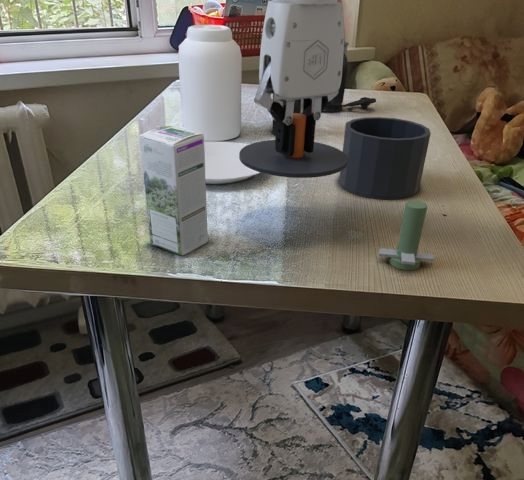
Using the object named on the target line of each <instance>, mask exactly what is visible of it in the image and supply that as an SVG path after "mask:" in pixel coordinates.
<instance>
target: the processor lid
mask: <svg viewBox="0 0 524 480" xmlns="http://www.w3.org/2000/svg"><path fill="white" fill-rule="evenodd" d="M292 124H294V125H295V127H296V129H295V143H294V154H293V156H290V157H288V156H285V155H283V154H281V153H279V152H277V151H276V149H275V139H267V140H261V141H256V142H253V143H249V144H246V145H247V146H245V147H244V148H242V149H241V150H240V153H239V159H240V161H241V163H242V164H244V165H245V166H246V167H248V168H250V169H252V170H255V171H258V172H261V173H260V174H265V175H270V176H274V177H282V178H292V179H293V178H294V179H295V178H296V179H307V178H308V179H311V178H321V177H322V178H323V177H327V176H331V175H334V174H337V173H340V171H342V170H343V169H345V168H346V166H347V164H348V157H347V155H346V154H345V153H344V152H343V150H341V149H340V148H337V147H335V146H332V145H329V144H325V143H322V142H317V141H314V148H313V152H311V153H308V152H305V151H304V140H305V127H306V115H304V114H300V113H293V120H292Z"/></svg>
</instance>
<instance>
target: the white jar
mask: <svg viewBox="0 0 524 480" xmlns="http://www.w3.org/2000/svg"><path fill="white" fill-rule="evenodd" d="M178 47H179V48H178V54H177V60H178V77H179V94H180V95H179V96H180V114H181V115H180V116H181V129H186V130H190V131H194V132H198V133H203V134H204V142H209V141H217V142H224V141H229V140H232V139H235V138H237V137H239V136H240V134H241V132H242V82H243V81H242V79H243V78H242V77H243V76H242V75H243V72H242V70H243V69H242V68H243V64H242V63H243V60H242V59H243V58H242V57H243V55H242V52H241V47H240V45H239V44H238V43H237V42H236V40H234V39H233V31H232V29H231V28H230V27H229V26H226V25H221V24H194V25H191V26H188V27H187V30H186V38H184V40H183V41H182V42H181V43H180V44H179V46H178Z"/></svg>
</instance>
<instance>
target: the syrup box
mask: <svg viewBox="0 0 524 480" xmlns="http://www.w3.org/2000/svg"><path fill="white" fill-rule="evenodd" d="M204 142H205V141H204V134H203V133H198V132H194V131H190V130H186V129H182V127H177V126H172V125H166V126H164V125H163V126H160V127H156V128H154V129H150V130H148V131H145V132H144V133H141V134H139V146H140V155H141V156H140V157H141V164H142V174H143V181H144V182H143V183H144V191H145V193H144V194H145V203H146V210H147V221H148V229H149V238H150V245H152V246H155V247H156V248H159V249H163V250H165V251H167V252H171V253H173V254H176V255H179V256H182V257H183V256H185V255H188V254H189V253H192V252H193V251H195V250H196V249H198V248H200V247H202V246H204V245H206V244H208V243H209V229H208V212H207V185H206V181H205V150H204Z"/></svg>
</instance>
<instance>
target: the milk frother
mask: <svg viewBox="0 0 524 480" xmlns="http://www.w3.org/2000/svg"><path fill="white" fill-rule="evenodd" d="M349 45H350V43H349V42H347V41H344V52H343V68H342V79H341V85H340V88H339V92H338V95H337V96H336V97H334V98H333V99H332V100H330V101H329V102H328V103H327V105H326V106H325V107H324V109H323V110H322V111H321V112H339V111H341V110H342V109H343V108H347V107H357V106H360V108H361V109H367V108H368V107H369V106H371V104H374V103H375V104H376V102H377V98H375V97H371V98H370V97H367V96H363V97H360V98H359V99H358V100H353V101H351V102H349V103H345V104H343V103H344V97H345V92H346V91H345V90H346V84H347V76H348V71H349V70H348V69H349V65H348V64H349V63H348V57H347V54H348V46H349ZM311 100H312V99H310V101H311Z"/></svg>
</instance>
